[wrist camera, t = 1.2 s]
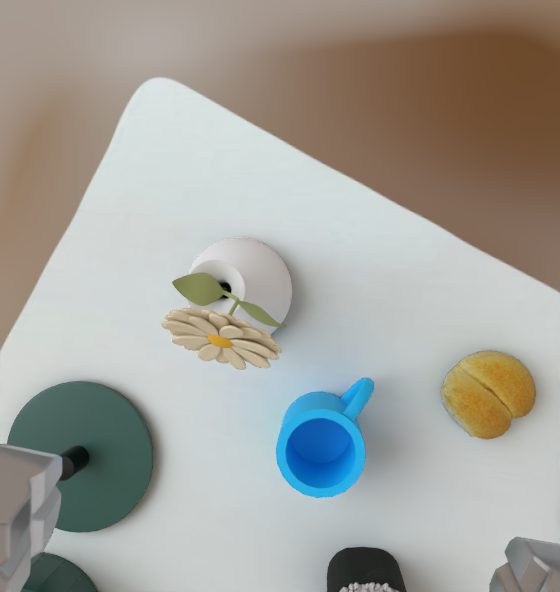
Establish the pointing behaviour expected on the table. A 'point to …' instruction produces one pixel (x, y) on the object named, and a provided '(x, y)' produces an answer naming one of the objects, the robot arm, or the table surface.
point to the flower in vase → (233, 303)
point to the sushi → (364, 571)
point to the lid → (89, 451)
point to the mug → (323, 441)
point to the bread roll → (488, 393)
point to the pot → (56, 576)
